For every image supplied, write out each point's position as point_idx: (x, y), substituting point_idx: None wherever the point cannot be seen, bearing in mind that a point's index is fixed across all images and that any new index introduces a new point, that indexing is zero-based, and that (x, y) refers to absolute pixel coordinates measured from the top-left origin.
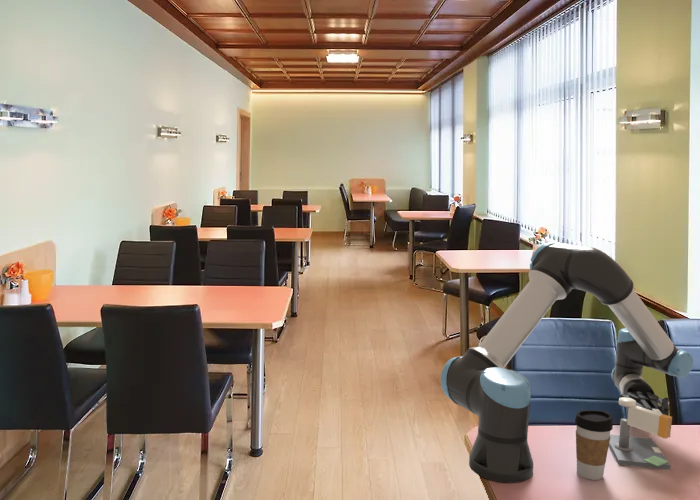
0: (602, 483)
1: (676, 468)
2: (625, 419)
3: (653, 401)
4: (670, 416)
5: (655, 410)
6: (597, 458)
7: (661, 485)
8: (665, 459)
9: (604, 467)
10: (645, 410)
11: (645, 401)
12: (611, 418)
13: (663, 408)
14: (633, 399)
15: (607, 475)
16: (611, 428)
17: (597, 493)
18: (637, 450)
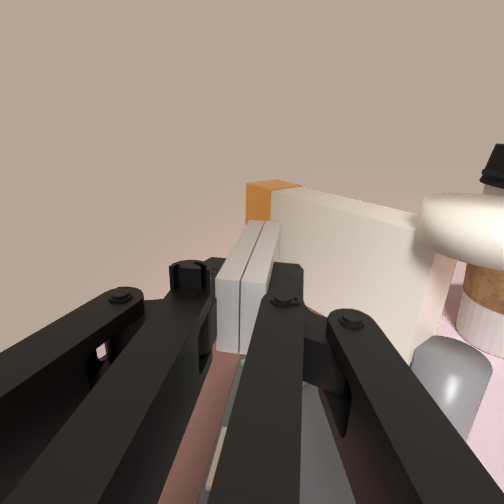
0: (450, 308)
1: (211, 373)
2: (456, 365)
3: (62, 482)
4: (250, 183)
5: (254, 265)
6: None
7: (306, 306)
8: (237, 382)
9: (461, 304)
10: (356, 203)
11: (226, 466)
12: (495, 145)
13: (112, 335)
14: (449, 212)
15: (445, 334)
16: (482, 176)
17: (452, 285)
18: (334, 457)
